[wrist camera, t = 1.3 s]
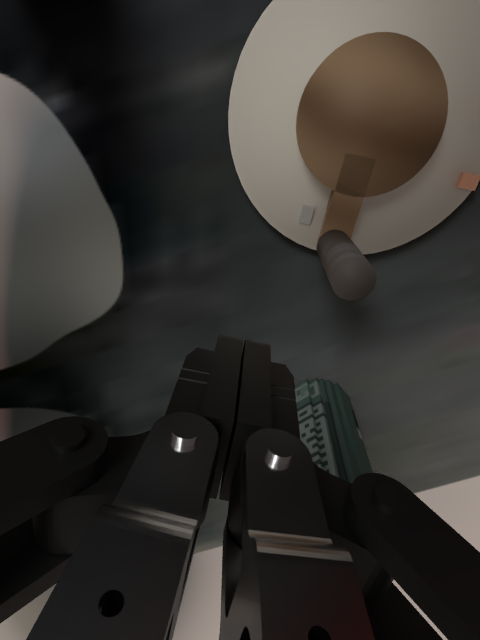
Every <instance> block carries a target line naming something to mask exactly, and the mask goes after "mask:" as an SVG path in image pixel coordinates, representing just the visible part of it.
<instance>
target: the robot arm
mask: <svg viewBox="0 0 480 640" xmlns="http://www.w3.org/2000/svg"><path fill="white" fill-rule="evenodd" d="M242 347H243V339H238V338H233V337H228V336H223V335H219V336H218V340H217V344H216V348H215V351H210V350H205V349H200V348H196V349H195V350H194V351H193V352H191V353H190V354H189V355H187V356H186V359H185V361H184V364H183V367H182V370H181V372H180V375H179V379H178V381H177V383H176V386H175V389H174V392H173V394H172V397H171V400H170V403H169V405H168V408H167V411H166V414H165V416H163V417H161V418H160V419H158V420H157V421H156V422H155V423H154V425H153V426H152V428H151V430H149V431H147V432H145V433H142V434H138V435H133V436H122V437H108V435H107V432H106V430H105V429H104V427H103V426H102V425H101V424H99V423H98V422H96V421H95V420H92V419H89V418H85V417H78V416H72V417H63V418H59V419H55V420H53V421H50V422H47V423H45V424H42V425H40V426H38V427H35V428H33V429H30V430H28V431H25V432H23V433H21V434H18V435H16V436H13V437H11V438H8V439H6V440H3V441H1V442H0V623H1V622H3V621H4V620H6V619H7V618H8V617H10V616H11V615H13V614H14V613H15V612H17V611H18V610H20V609H21V608H22V607H24V606H25V605H27V604H28V603H29V602H31V601H32V600H33V599H35V598H36V597H38V596H39V595H41V594H42V593H43V592H45V591H46V590H47V589H49V588H50V587H52V586H53V585H54V584H56V583H57V584H56V586H55V588H54V590H53V591H52V593H51V595H50V597H49V599H48V601H47V602H46V604H45V606H44V608H43V610H42V611H41V613H40V615H39V617H38V619H37V621H36V622H35V624H34V626H33V628H32V630H31V632H30V633H29V635H28V637H27V639H26V640H172V638H173V634H174V629H175V625H176V621H177V617H178V612H179V609H180V605H181V601H182V597H183V593H184V589H185V586H186V582H187V578H188V574H189V570H190V566H191V562H192V557H193V554H194V550H195V546H196V542H197V538H198V534H199V530H200V526H201V524H202V523H203V521H204V519H205V516H206V512H207V507H208V503H209V498H214V499H216V497H217V493H218V489H219V484H220V480H221V476H222V482H221V489H220V497H219V499H221V500H226V501H229V507H228V516H227V520H226V524H225V528H224V533H223V557H222V559H223V560H222V590H221V622H220V635H219V640H443V639H442V638H441V637H440V636H439V635H438V634H437V632H436V631H435V630H434V629H433V628H432V627H431V626H430V624H428V622H427V621H426V620H425V619H424V618H423V617H422V615H421V614H420V613H419V612H418V611H417V610H416V609H415V608H414V606H413V605H412V604H411V603H410V602H409V601H408V600H407V599H406V597H405V596H404V595H403V594H402V593H401V592H400V591H399V590H398V588H397V587H396V586H395V585H394V584H393V583H392V581H393V580H395V581H396V582H397V583H398V584H399V585H400V586H401V587H402V589H403V590H404V591H405V592H406V593H407V594H408V595H409V596H410V598H411V599H413V601H414V602H415V603H416V604H417V605H418V606H419V608H420V609H421V610H422V611H423V612H424V613H425V614H426V615H427V616H428V617H429V619H430V620H431V621H432V622H433V623H434V624H435V625H436V626H437V628H438V629H439V630H440V631H441V632H442V633H443V634H444V635H445V636H446V638H447V639H448V640H480V552H479V551H477V550H476V549H475V548H474V547H473V546H472V545H471V544H470V543H469V542H467V541H466V540H465V539H464V538H463V537H462V536H461V535H460V534H458V533H457V532H456V531H455V530H454V529H453V528H452V527H451V526H449V525H448V524H447V523H446V522H445V521H444V520H443V519H441V518H440V517H439V516H438V515H437V514H436V513H435V512H433V510H431V509H430V508H429V507H428V506H427V505H426V504H425V503H424V502H422V501H421V500H420V499H419V498H418V497H417V496H416V495H415V494H413V493H412V492H411V491H410V490H409V489H408V488H407V487H405V486H404V485H403V484H401V483H400V482H398V481H397V480H395V479H393V478H391V477H388V476H386V475H382V474H378V473H365V474H361V475H359V476H358V477H356V478H355V480H354V481H353V483H350V482H347V481H345V480H343V479H341V478H339V477H336V476H334V475H332V474H330V473H328V472H326V471H324V470H323V469H321V468H320V467H318V466H317V465H316V464H315V463H314V462H313V460H312V456H311V453H310V451H309V449H308V448H307V446H306V445H305V444H304V443H303V442H302V441H301V440H300V431H299V421H298V412H297V403H296V394H295V385H294V377H293V375H292V374H291V372H290V371H289V370H288V368H287V367H286V365H283V364H278V363H273V362H271V357H270V345H269V344H264V343H259V342H254V341H249V340H245V343H244V347H243V351H242ZM241 355H242V356H241ZM222 471H223V474H222Z"/></svg>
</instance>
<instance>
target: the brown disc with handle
mask: <svg viewBox="0 0 480 640" xmlns="http://www.w3.org/2000/svg"><path fill="white" fill-rule="evenodd" d="M447 114H448V91H447V86H446V81H445V78H444V75H443V72H442V70H441V68H440V66H439V64H438V62H437V61H436V59H435V58H434V56H433V55H432V54H431V53H430V52H429V51H428V50H427V48H426V47H424V46H423V45H422V44H420V43H419V42H418V41H416V40H414V39H412V38H410V37H408V36H405V35H402V34H399V33H392V32H375V33H369V34H365V35H362V36H359V37H356V38H354V39H352V40H350V41H348V42H346V43H344V44H343V45H341V46H340V47H338V48H337V49H335V50H334V51H333V52H332V53H331V54H330V55H329V56H327V58H326V59H325V60H324V61H323V62H322V63H321V64H320V65H319V67H318V68H317V69H316V71H315V72H314V73H313V75H312V76H311V78H310V79H309V81H308V83H307V85H306V87H305V89H304V91H303V94H302V96H301V99H300V102H299V106H298V111H297V117H296V137H297V143H298V147H299V150H300V153H301V156H302V158H303V160H304V162H305V164H306V166H307V167H308V169H309V170H310V172H311V173H312V174H313V175H314V176H315V177H316V178H317V179H318V180H319V181H320V182H321V183H323V184H324V185H325V186H327V187H328V188H330V189H331V190H332V191H331V194H330V198H329V201H328V205H327V208H326V212H325V216H324V219H323V223H322V226H321V230H320V234H319V237H318V242H317V247H316V249H317V253H318V256H319V258H320V261H321V263H322V265H323V268H324V270H325V272H326V275H327V277H328V279H329V282H330V284H331V286H332V289H333V291H334V292H335V294H336V295H337V296H338V297H340V298H342V299H344V300H348V301H355V300H359V299H362V298H364V297H366V296H367V295H368V294H369V293H370V292H371V291H372V290H373V288H374V286H375V284H376V272H375V270H374V268H373V266H372V265H371V264H370V263H369V261H368V260H367V259H366V258H365V256H364V255H363V254H362V253H361V251H360V250H359V249H358V248H357V246H356V245H355V244H354V243H353V241H352V240H351V237H352V233H353V230H354V227H355V224H356V221H357V218H358V214H359V211H360V208H361V205H362V202H363V199H364V197H371V196H377V195H381V194H385V193H387V192H390V191H392V190H394V189H396V188H398V187H400V186H402V185H403V184H405V183H406V182H408V181H409V180H410V179H412V178H413V177H414V176H415V175H416V174H417V173H418V172H419V171H420V170H421V169H422V168H423V167H424V166H425V165H426V163H427V162H428V161H429V159H430V158H431V157H432V155H433V153H434V152H435V150H436V148H437V146H438V144H439V142H440V140H441V137H442V135H443V131H444V128H445V125H446V120H447Z"/></svg>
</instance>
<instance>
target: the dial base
mask: <svg viewBox="0 0 480 640" xmlns="http://www.w3.org/2000/svg"><path fill="white" fill-rule="evenodd" d="M375 32H392V33H399V34H402V35H405V36H408V37H410V38H412V39H414V40H416V41H418V42H419V43H420V44H422V45H423V46H424V47H426V48H427V50H428V51H429V52H430V53H431V54H432V55H433V56H434V58H435V59H436V61H437V62H438V64H439V66H440V68H441V70H442V72H443V75H444V78H445V81H446V86H447V91H448V114H447V120H446V125H445V128H444V131H443V135H442V137H441V140H440V142H439V144H438V146H437V148H436V150H435V152H434V153H433V155H432V157H431V158H430V159H429V161H428V162H427V163H426V165H425V166H424V167H423V168H422V169H421V170H420V171H419V172H418V173H417V174H416V175H415V176H414V177H413V178H412V179H410V180H409V181H408V182H406V183H405V184H403V185H402V186H400V187H398V188H396V189H394V190H392V191H390V192H387V193H385V194H381V195H377V196H371V197H364V199H363V202H362V205H361V208H360V211H359V214H358V218H357V221H356V224H355V227H354V230H353V233H352V237H351V240H352V241H353V243H354V244H355V245H356V246H357V248H358V249H359V250H360V251H361V253H362V254H372V253H377V252H381V251H385V250H389V249H392V248H395V247H397V246H400V245H403V244H405V243H407V242H409V241H411V240H413V239H415V238H417V237H419V236H421V235H423V234H424V233H426V232H427V231H429V230H430V229H432V228H433V227H435V226H436V225H438V224H439V223H440V222H441V221H443V220H444V219H445V218H446V217H448V216H449V215H450V214H451V213H452V212H453V211H454V210H455V209H456V208H457V207H458V206H459V205H460V204H461V203H462V202H463V201H464V200H465V199H466V197H467V196H468V195H469V194H470V192H471V191H475V189H476V187H477V185H478V182H479V180H480V0H273V1H272V2H271V3H270V4H269V6H268V7H267V8H266V10H265V11H264V12H263V13H262V15H261V17H260V18H259V20H258V22H257V23H256V25H255V26H254V28H253V30H252V31H251V33H250V35H249V37H248V40H247V42H246V44H245V46H244V48H243V50H242V52H241V55H240V58H239V61H238V64H237V67H236V70H235V73H234V78H233V83H232V88H231V92H230V101H229V112H228V124H229V140H230V147H231V153H232V157H233V161H234V165H235V168H236V171H237V174H238V176H239V179H240V181H241V184H242V186H243V188H244V190H245V192H246V194H247V195H248V197H249V199H250V201H251V202H252V203H253V205H254V206H255V208H256V209H257V210H258V212H259V213H260V214H261V215H262V216H263V217H264V218H265V219H266V220H267V221H268V222H269V224H270V225H271V226H273V227H274V228H275V229H276V230H278V231H279V232H280V233H282V234H283V235H284V236H286V237H288V238H289V239H291V240H293V241H294V242H296V243H298V244H300V245H303V246H305V247H308V248H310V249H313V250H317V249H316V247H317V242H318V237H319V234H320V230H321V226H322V223H323V219H324V216H325V212H326V208H327V205H328V201H329V198H330V194H331V191H332V190H331V189H330V188H328V187H327V186H325V185H324V184H323V183H321V182H320V181H319V180H318V179H317V178H316V177H315V176H314V175H313V174H312V173H311V172H310V170H309V169H308V167H307V166H306V164H305V162H304V160H303V158H302V156H301V153H300V150H299V147H298V143H297V137H296V117H297V111H298V106H299V102H300V99H301V96H302V94H303V91H304V89H305V87H306V85H307V83H308V81H309V79H310V78H311V76H312V75H313V73H314V72H315V71H316V69H317V68H318V67H319V65H320V64H321V63H322V62H323V61H324V60H325V59H326V58H327V56H329V55H330V54H331V53H332V52H333V51H334V50H335V49H337V48H338V47H340V46H341V45H343V44H344V43H346V42H348V41H350V40H352V39H354V38H356V37H359V36H362V35H365V34H369V33H375Z"/></svg>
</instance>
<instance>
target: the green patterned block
mask: <svg viewBox="0 0 480 640" xmlns="http://www.w3.org/2000/svg"><path fill="white" fill-rule="evenodd" d="M295 394H296V403H297V412H298V421H299V431H300V440H301V441H302V442H303V443H304V444H305V445H306V446H307V448H308V449H309V451H310V453H311V456H312V460H313V462H314V463H315V464H316V465H317V466H318V467H320V468H321V469H323V470H324V471H326V472H328V473H330V474H332V475H334V476H336V477H339V478H341V479H343V480H345V481H347V482H350V483H353V481H354V480H355V478H356V477H358V476H359V475H361V474H365V473H373V472H372V469H371V466H370V463H369V459H368V456H367V453H366V450H365V447H364V443H363V440H362V437H361V434H360V430H359V427H358V424H357V421H356V418H355V414H354V411H353V408H352V405H351V402H350V398H349V397H348V395H347V394H346V393H345V392H344V391H343V390H342V388H341V387H340V386H339V385H338V384H335V385H333V384H332V383H331V382H330V381H329V380H327V381H324V380H323V379H321V380H320V381H318V380H317V378H316V379H314V380H312V381H311V382H308V381H307V380H305V381H303V382H302V383H300V384H298V385H297V386H295Z"/></svg>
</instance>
